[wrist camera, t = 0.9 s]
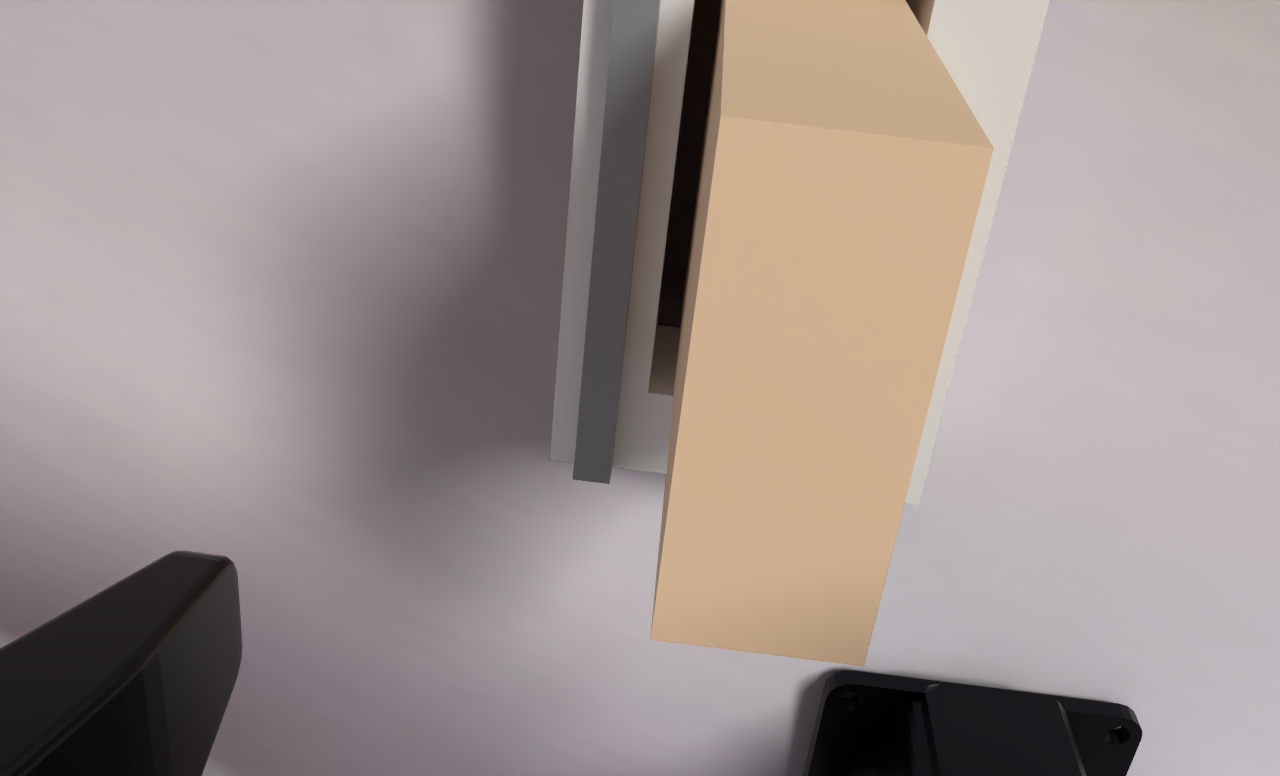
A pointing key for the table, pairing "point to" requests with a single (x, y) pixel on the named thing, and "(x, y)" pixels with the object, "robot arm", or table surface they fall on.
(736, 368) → the tan cardboard block
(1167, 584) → the table surface
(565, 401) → the dispenser
